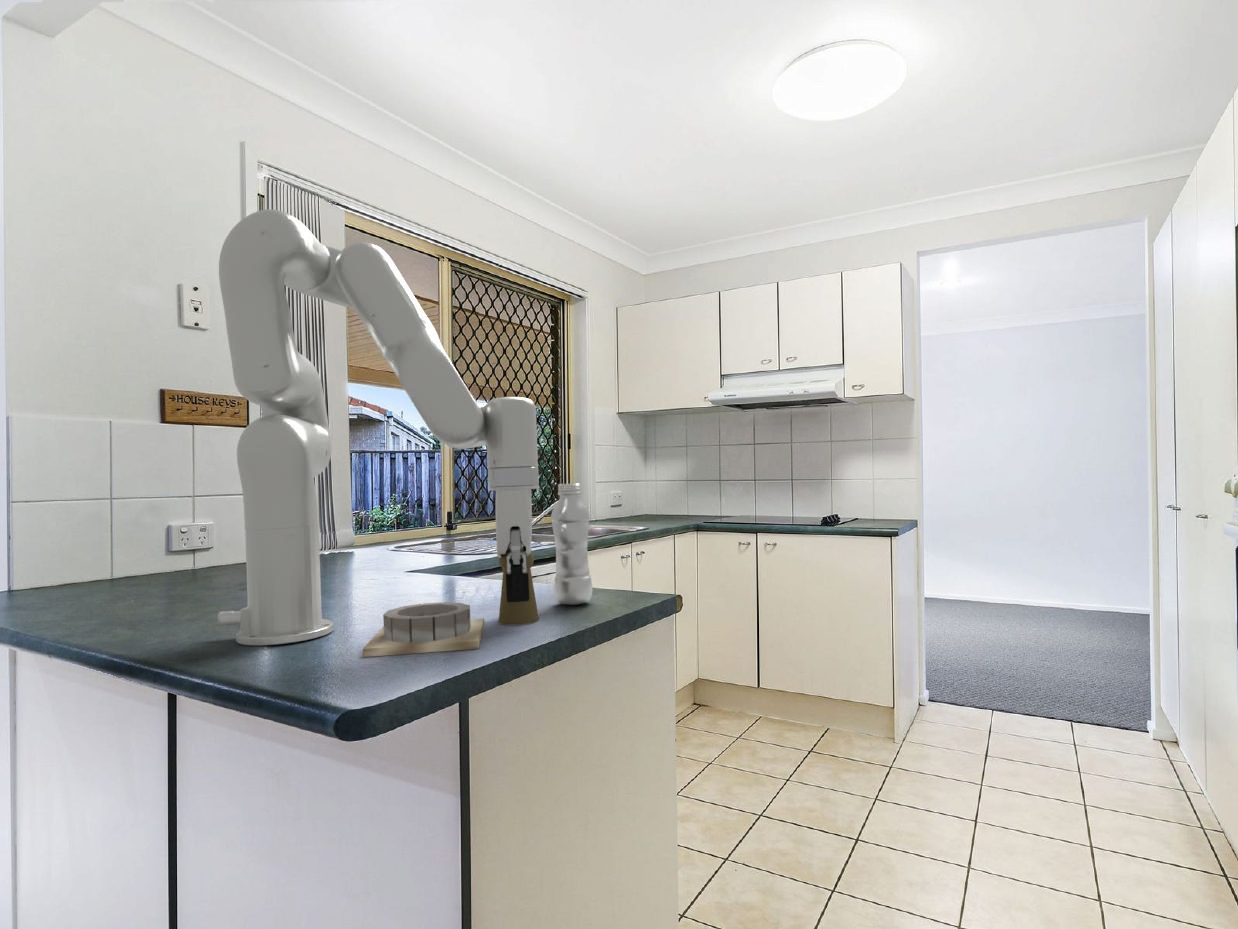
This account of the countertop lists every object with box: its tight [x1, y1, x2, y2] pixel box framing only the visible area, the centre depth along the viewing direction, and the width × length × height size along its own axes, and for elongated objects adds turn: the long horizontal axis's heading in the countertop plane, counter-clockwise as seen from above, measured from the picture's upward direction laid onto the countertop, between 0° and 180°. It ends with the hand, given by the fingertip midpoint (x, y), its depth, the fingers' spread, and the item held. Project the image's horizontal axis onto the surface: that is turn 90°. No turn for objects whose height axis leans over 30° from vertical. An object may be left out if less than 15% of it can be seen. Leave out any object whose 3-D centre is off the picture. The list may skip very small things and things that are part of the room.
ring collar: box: [362, 601, 485, 658], centre depth 94 cm, size 14×14×4 cm
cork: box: [498, 547, 540, 626], centre depth 104 cm, size 6×6×11 cm
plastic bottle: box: [550, 483, 594, 606], centre depth 116 cm, size 6×7×20 cm
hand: (518, 595), depth 104 cm, fingers open, 8 cm apart
